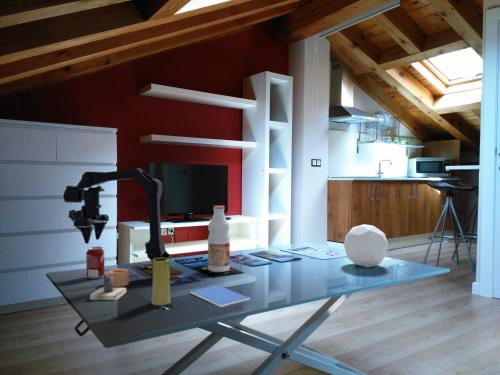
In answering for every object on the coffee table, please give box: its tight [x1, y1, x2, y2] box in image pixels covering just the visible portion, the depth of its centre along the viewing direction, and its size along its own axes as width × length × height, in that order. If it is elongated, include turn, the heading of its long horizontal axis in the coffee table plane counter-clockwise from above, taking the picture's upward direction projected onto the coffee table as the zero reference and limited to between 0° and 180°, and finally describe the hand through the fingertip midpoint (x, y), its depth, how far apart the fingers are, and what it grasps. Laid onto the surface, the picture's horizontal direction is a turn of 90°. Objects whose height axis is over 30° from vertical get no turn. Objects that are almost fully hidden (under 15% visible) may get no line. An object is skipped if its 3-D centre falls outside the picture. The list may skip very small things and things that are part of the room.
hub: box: [107, 268, 130, 288], centre depth 151 cm, size 7×7×5 cm
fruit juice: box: [207, 205, 231, 273], centre depth 174 cm, size 9×9×28 cm
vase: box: [151, 258, 172, 307], centre depth 130 cm, size 6×6×14 cm
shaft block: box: [89, 275, 127, 301], centre depth 137 cm, size 9×9×6 cm
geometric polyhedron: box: [343, 223, 389, 269], centre depth 183 cm, size 19×20×20 cm
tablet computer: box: [189, 285, 251, 308], centre depth 137 cm, size 19×13×1 cm, turn 40°
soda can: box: [85, 246, 105, 280], centre depth 161 cm, size 7×7×12 cm
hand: (92, 241), depth 161 cm, fingers open, 9 cm apart
